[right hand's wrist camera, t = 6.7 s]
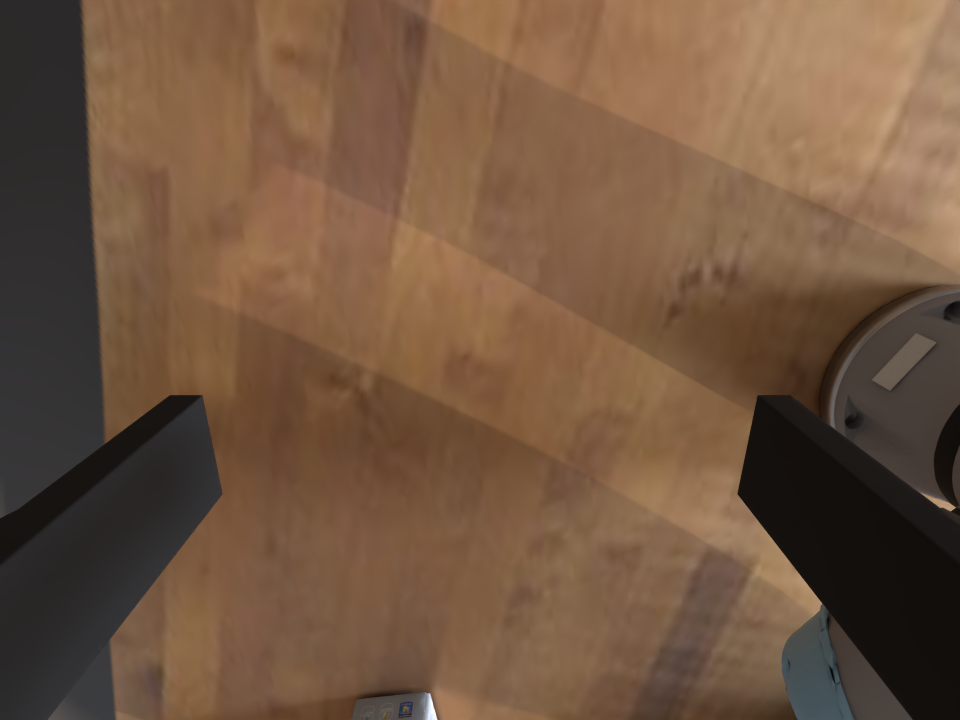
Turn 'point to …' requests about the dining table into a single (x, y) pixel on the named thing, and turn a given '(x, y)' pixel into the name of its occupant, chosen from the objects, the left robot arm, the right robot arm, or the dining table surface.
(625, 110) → the dining table surface
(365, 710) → the hard drive box
